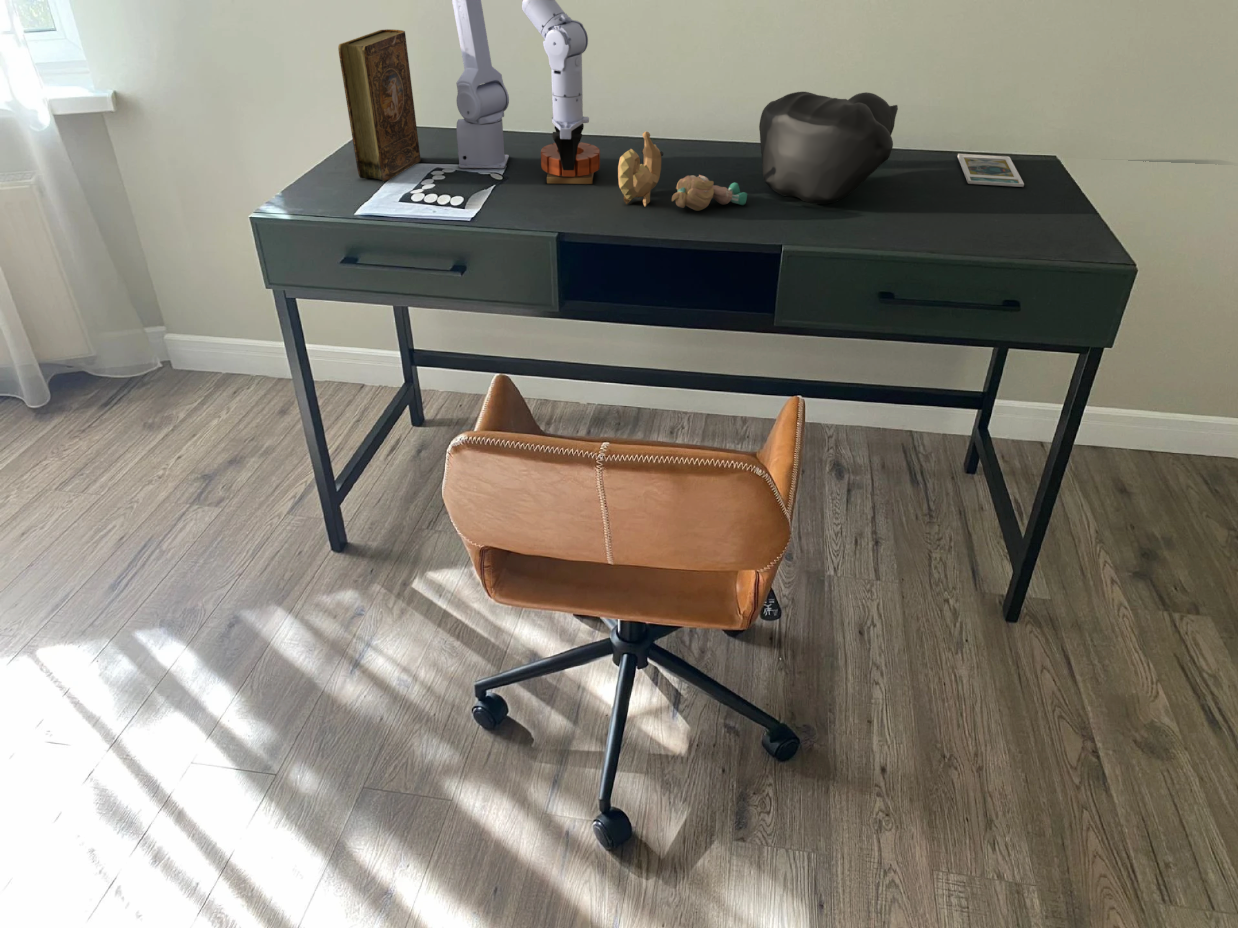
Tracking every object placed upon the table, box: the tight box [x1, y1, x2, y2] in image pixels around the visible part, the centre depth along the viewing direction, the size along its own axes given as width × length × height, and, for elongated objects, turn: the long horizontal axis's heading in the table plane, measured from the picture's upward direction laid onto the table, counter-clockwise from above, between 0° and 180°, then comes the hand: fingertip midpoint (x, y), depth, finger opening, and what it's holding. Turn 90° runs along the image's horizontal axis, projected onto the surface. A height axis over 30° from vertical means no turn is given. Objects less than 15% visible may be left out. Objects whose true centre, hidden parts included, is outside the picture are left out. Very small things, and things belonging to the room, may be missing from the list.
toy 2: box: [671, 174, 748, 212], centre depth 168 cm, size 8×7×15 cm
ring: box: [540, 141, 601, 177], centre depth 181 cm, size 12×12×3 cm
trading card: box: [957, 153, 1025, 188], centre depth 186 cm, size 11×1×18 cm
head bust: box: [758, 91, 899, 205], centre depth 174 cm, size 28×20×30 cm
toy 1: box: [617, 131, 664, 207], centre depth 168 cm, size 5×12×20 cm
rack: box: [546, 172, 595, 185], centre depth 181 cm, size 9×9×6 cm
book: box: [337, 28, 421, 182], centre depth 179 cm, size 16×6×25 cm, turn 161°
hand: (569, 166), depth 178 cm, fingers closed on ring, 3 cm apart
